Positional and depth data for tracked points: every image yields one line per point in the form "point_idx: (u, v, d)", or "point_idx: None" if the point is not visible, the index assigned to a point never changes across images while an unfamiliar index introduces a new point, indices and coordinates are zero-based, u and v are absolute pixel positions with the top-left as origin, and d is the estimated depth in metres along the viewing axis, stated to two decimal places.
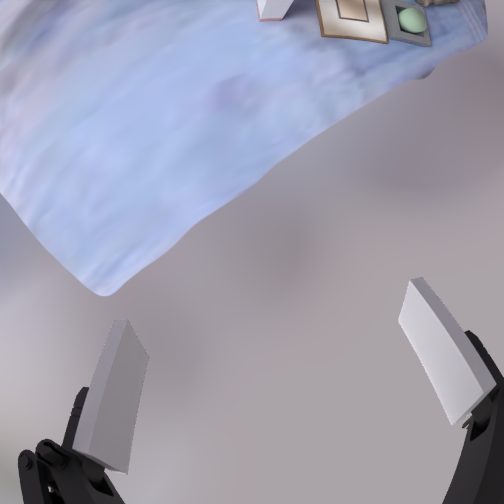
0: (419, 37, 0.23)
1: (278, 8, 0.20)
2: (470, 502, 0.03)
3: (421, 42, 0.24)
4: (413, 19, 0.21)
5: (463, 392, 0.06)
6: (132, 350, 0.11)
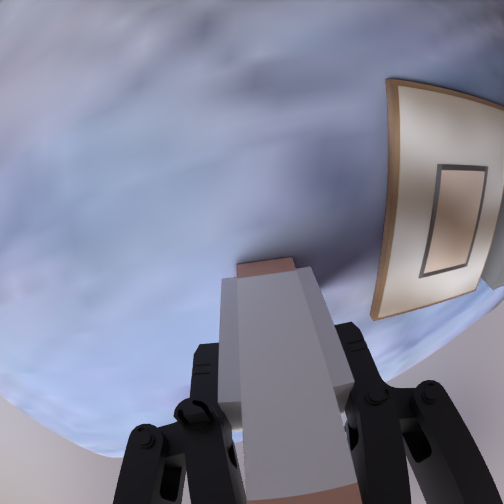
0: None
1: None
2: None
3: None
4: None
5: None
6: None
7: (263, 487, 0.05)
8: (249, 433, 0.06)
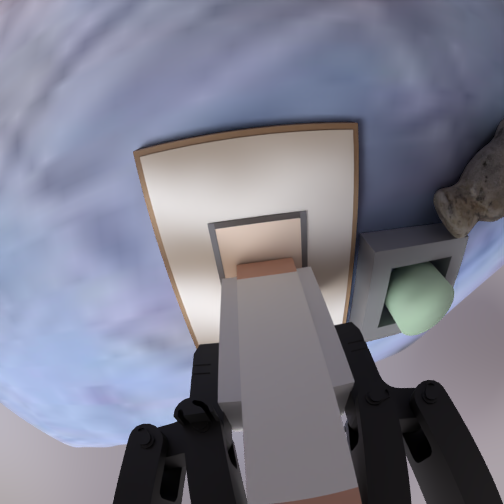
0: None
1: None
2: None
3: None
4: (419, 315, 0.13)
5: None
6: None
7: (264, 492, 0.05)
8: (250, 438, 0.06)
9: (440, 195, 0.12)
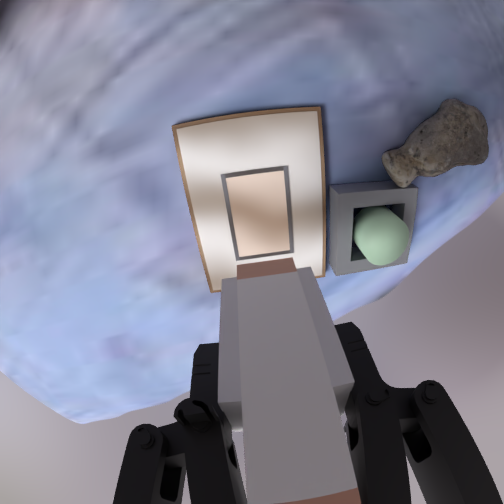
0: None
1: None
2: None
3: (388, 264, 0.21)
4: (380, 245, 0.18)
5: None
6: None
7: (264, 492, 0.05)
8: (250, 438, 0.06)
9: (384, 154, 0.17)
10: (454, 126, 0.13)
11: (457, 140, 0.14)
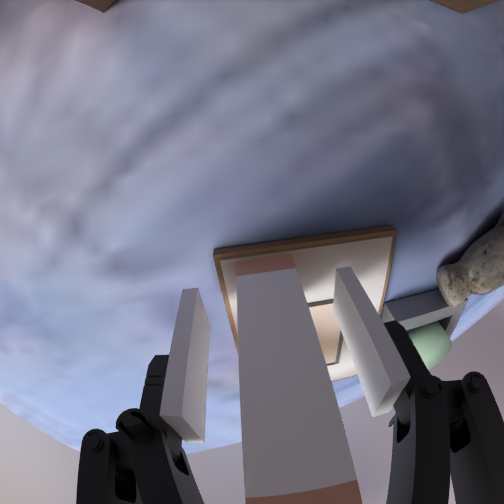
0: None
1: None
2: None
3: None
4: (424, 361, 0.16)
5: (376, 382, 0.08)
6: (201, 317, 0.12)
7: (262, 484, 0.05)
8: (248, 430, 0.06)
9: (444, 273, 0.15)
10: None
11: None
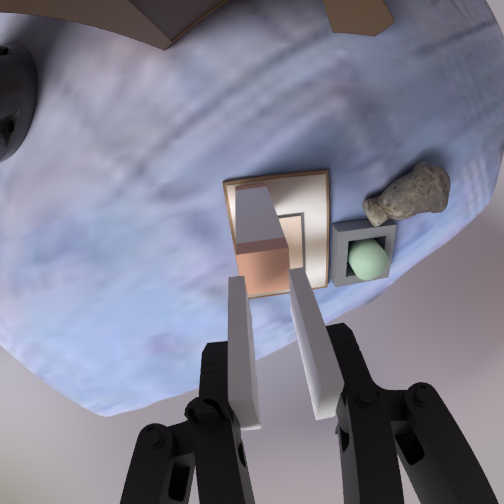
0: None
1: None
2: None
3: (374, 278, 0.30)
4: (367, 267, 0.27)
5: (314, 385, 0.08)
6: (248, 305, 0.13)
7: (243, 239, 0.16)
8: (238, 227, 0.17)
9: (365, 201, 0.26)
10: (421, 185, 0.22)
11: (421, 196, 0.22)
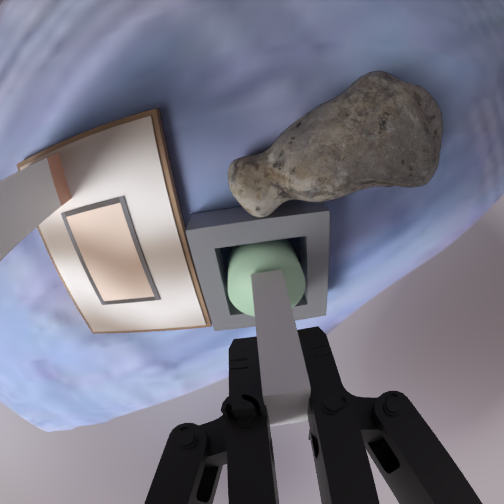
0: None
1: None
2: None
3: (295, 318, 0.16)
4: None
5: None
6: None
7: None
8: None
9: (232, 162, 0.12)
10: (361, 111, 0.09)
11: (362, 137, 0.09)
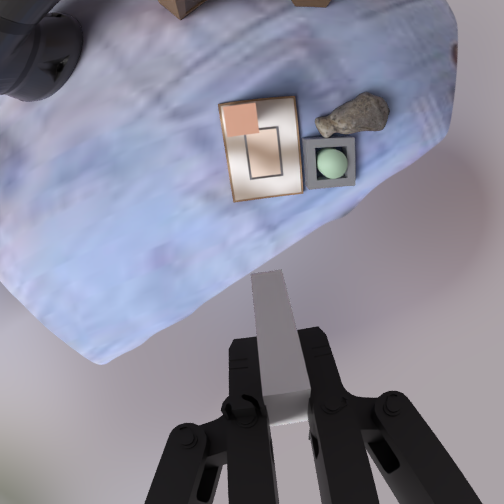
0: (340, 180, 0.36)
1: None
2: None
3: (342, 185, 0.36)
4: (329, 166, 0.34)
5: None
6: None
7: None
8: None
9: (316, 118, 0.32)
10: (360, 104, 0.29)
11: (360, 112, 0.29)
